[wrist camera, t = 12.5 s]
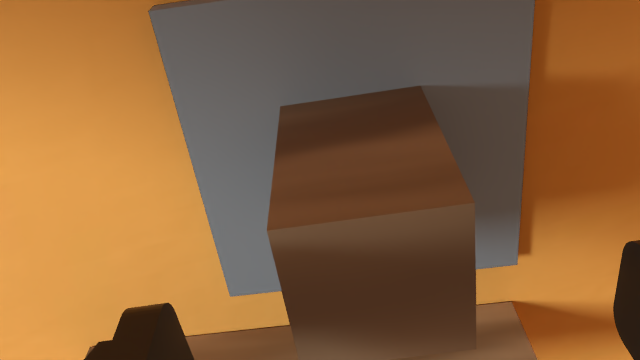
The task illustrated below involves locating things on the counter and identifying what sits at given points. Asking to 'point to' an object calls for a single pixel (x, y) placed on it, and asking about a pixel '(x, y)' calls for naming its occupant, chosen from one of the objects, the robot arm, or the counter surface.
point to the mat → (340, 81)
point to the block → (372, 229)
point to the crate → (489, 356)
